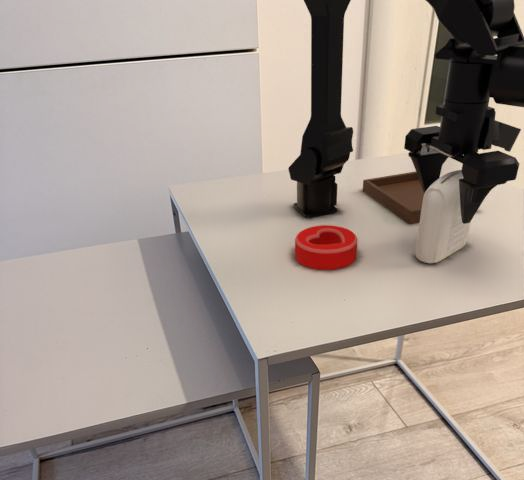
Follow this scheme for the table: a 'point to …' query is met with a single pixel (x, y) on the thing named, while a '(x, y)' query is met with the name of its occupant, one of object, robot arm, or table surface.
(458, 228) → the photo printer
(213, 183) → the table surface
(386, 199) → the tray
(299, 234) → the decorative ornament
